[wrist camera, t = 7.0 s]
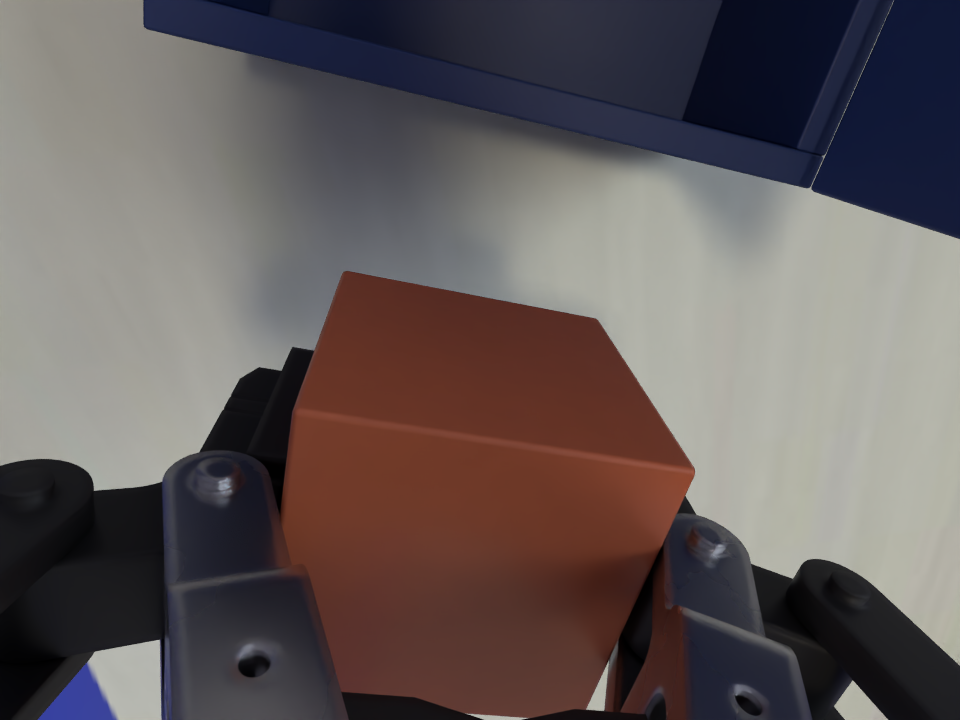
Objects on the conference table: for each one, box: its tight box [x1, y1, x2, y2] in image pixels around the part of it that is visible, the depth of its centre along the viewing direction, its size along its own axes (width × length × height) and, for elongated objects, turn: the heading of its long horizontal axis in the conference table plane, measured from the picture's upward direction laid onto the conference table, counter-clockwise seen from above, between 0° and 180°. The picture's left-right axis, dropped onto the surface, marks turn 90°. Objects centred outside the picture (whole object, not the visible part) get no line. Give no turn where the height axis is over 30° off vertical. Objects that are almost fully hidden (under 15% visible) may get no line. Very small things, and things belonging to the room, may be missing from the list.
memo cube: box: [280, 271, 695, 718], centre depth 11 cm, size 5×5×5 cm
